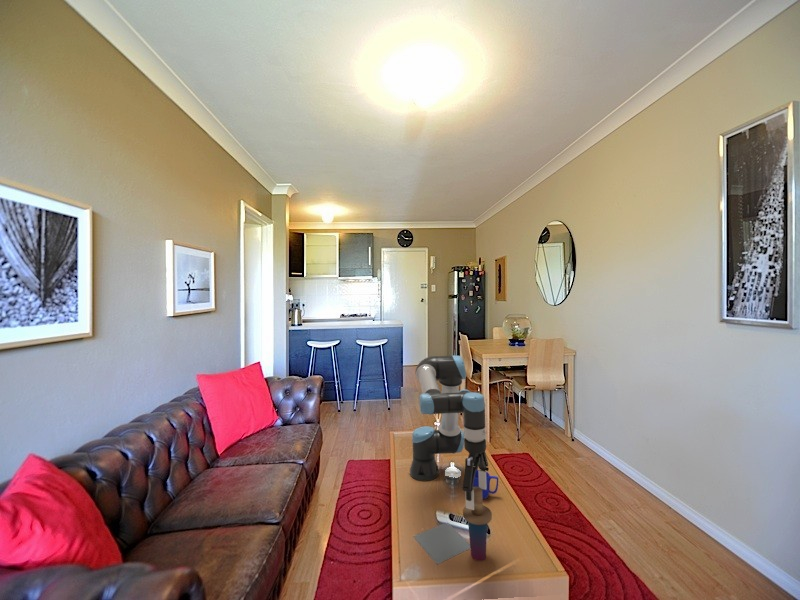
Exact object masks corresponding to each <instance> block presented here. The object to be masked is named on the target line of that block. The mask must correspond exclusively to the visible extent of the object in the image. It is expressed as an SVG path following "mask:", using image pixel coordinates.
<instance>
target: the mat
mask: <svg viewBox="0 0 800 600" xmlns="http://www.w3.org/2000/svg"><path fill="white" fill-rule="evenodd" d="M412 537H413V538H414V540H415V541H416V542H417V543H418V544H419V545H420V547H421V548H422V549H423V550H424V551H425V553H426V554H427V555H428V556H429V557H430V559H432V561H433V562H434V563H435V564H436V565H439V564H442V563H443V562H445V561H448V560H449V559H452V558H454V557H455V556H458V555H460V554H462V553H464V552H466V551H468V550H471V548H470V542H469V541H467V539H466V538H464V536H462V535H461V534H460V533H459V532H458V531H457V530H456V529H455V528H454V527H453V526H452V525H451V524H449V525H446V524H444V523H442V524H440V525H437V526H435V527H432V528H429V529H427V530H425V531H423V532H421V533H418V534H416V535H413V536H412Z"/></svg>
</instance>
